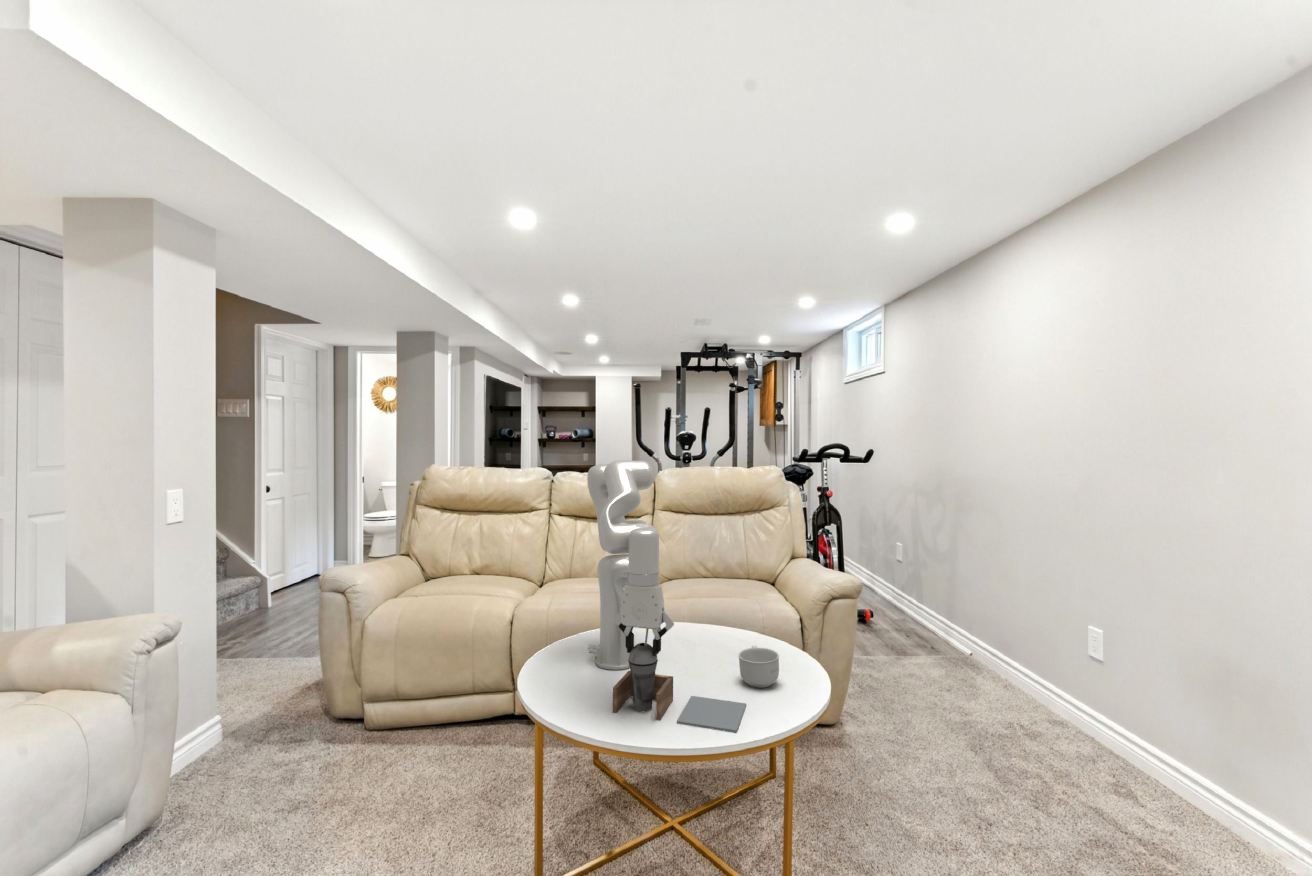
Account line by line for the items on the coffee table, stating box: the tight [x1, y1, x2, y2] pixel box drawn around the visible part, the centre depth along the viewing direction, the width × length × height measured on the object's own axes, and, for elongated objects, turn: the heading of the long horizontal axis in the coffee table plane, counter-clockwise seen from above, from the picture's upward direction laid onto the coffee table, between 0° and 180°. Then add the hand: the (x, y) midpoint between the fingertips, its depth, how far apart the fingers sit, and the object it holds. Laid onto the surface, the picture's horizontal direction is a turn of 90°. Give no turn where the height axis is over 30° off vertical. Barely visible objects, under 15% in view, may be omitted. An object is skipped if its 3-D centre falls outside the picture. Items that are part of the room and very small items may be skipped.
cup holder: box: [612, 670, 674, 721], centre depth 140 cm, size 12×11×6 cm
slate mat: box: [676, 695, 747, 733], centre depth 136 cm, size 14×14×1 cm
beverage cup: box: [628, 628, 659, 713], centre depth 140 cm, size 7×7×20 cm
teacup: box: [738, 645, 780, 689], centre depth 156 cm, size 14×11×8 cm
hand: (643, 651), depth 140 cm, fingers closed on beverage cup, 6 cm apart
